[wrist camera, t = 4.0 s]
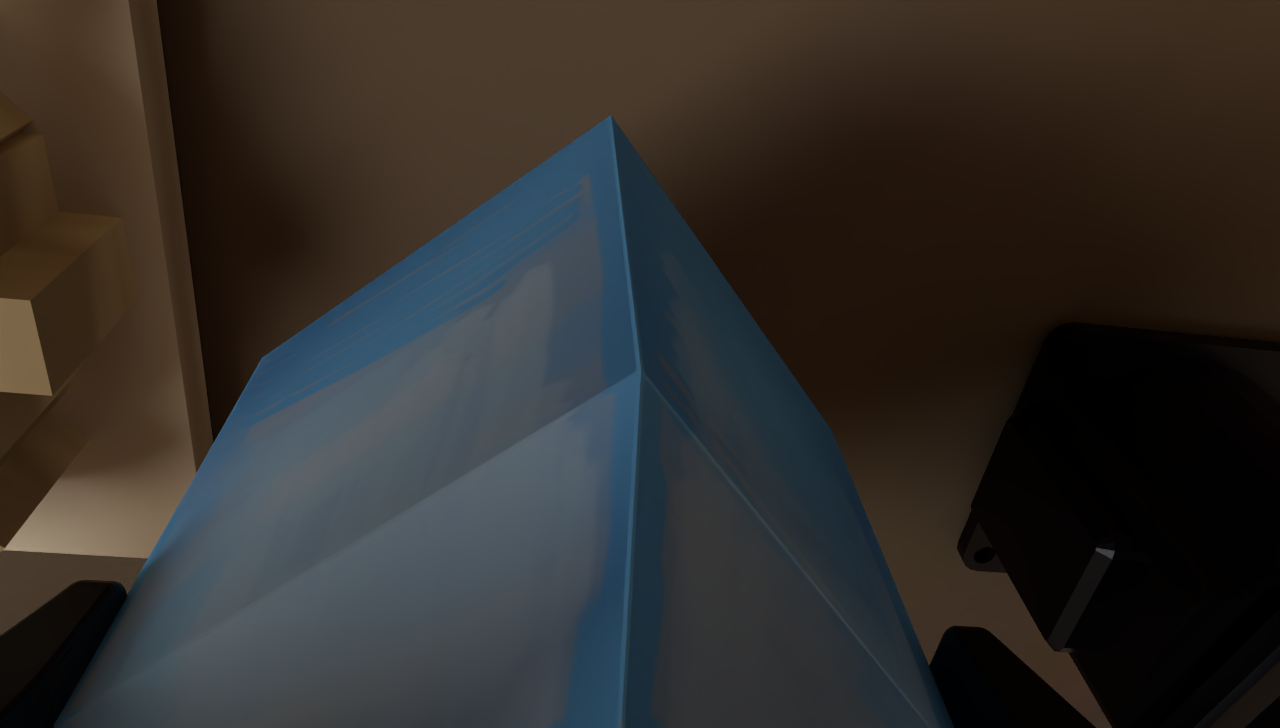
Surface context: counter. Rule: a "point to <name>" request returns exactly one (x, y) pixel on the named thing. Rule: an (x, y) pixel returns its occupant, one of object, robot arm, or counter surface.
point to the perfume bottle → (522, 504)
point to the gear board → (93, 284)
